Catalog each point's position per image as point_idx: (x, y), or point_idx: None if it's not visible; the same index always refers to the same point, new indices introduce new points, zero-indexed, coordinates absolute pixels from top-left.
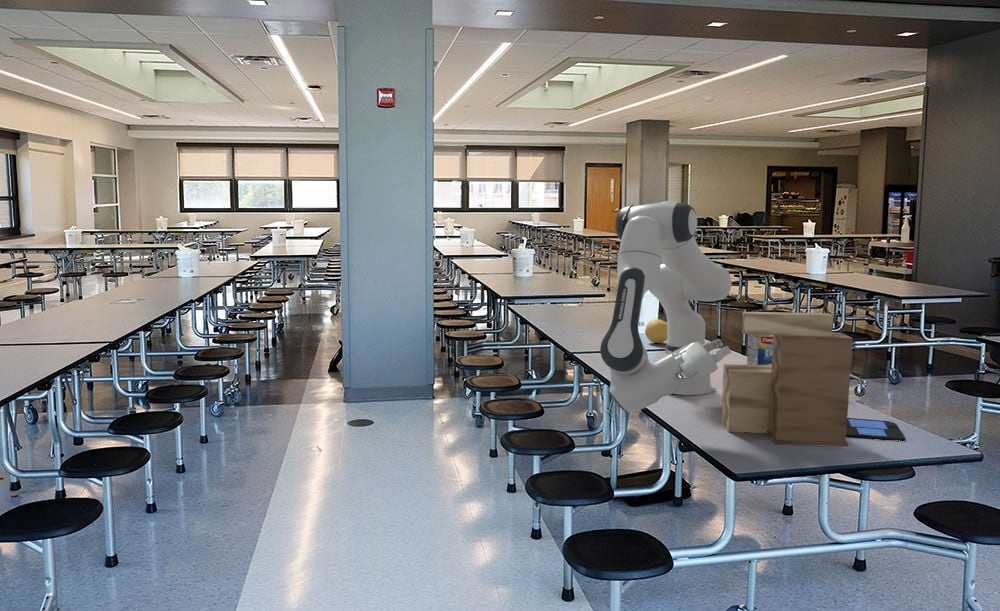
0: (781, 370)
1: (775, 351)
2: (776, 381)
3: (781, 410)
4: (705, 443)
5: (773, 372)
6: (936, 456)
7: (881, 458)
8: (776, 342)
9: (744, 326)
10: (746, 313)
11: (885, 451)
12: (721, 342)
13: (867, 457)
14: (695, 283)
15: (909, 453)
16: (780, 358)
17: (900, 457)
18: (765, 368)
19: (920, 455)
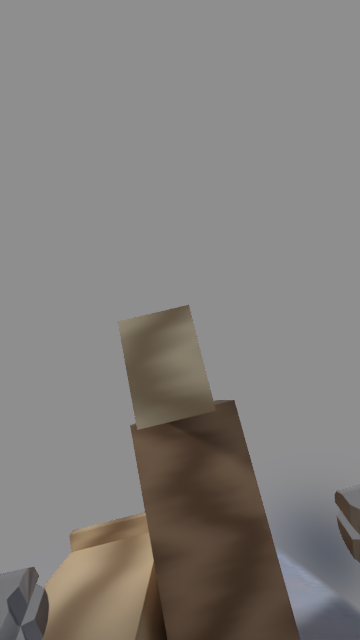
0: (268, 528)
1: (180, 486)
2: (243, 604)
3: None
4: None
5: (187, 586)
6: (284, 556)
7: (342, 608)
8: (179, 447)
9: (179, 376)
10: (170, 311)
11: (290, 603)
12: (35, 591)
13: (352, 628)
14: None
15: (285, 578)
16: (250, 482)
17: (316, 586)
18: (64, 632)
19: (289, 568)
